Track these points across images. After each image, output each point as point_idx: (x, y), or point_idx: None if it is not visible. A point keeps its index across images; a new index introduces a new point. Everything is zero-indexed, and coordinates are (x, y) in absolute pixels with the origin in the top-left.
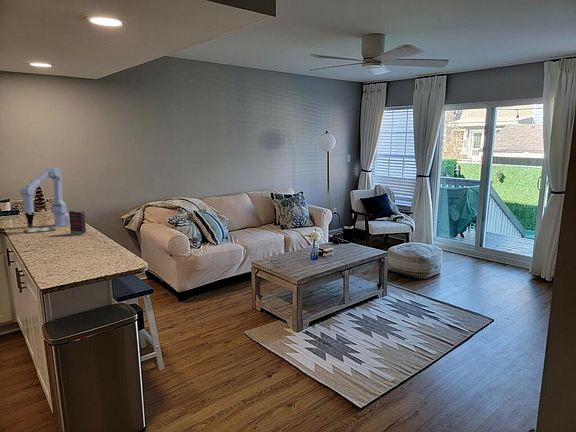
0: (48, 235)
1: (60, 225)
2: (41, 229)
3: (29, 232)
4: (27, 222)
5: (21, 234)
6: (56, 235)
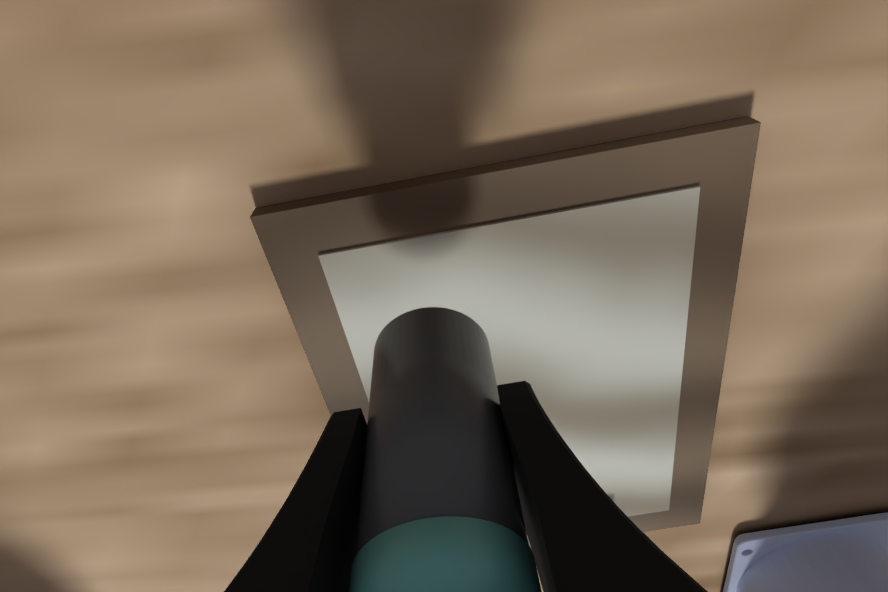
0: (27, 523)
1: (732, 581)
2: None
3: (281, 282)
4: (409, 409)
5: (188, 125)
6: (23, 587)
